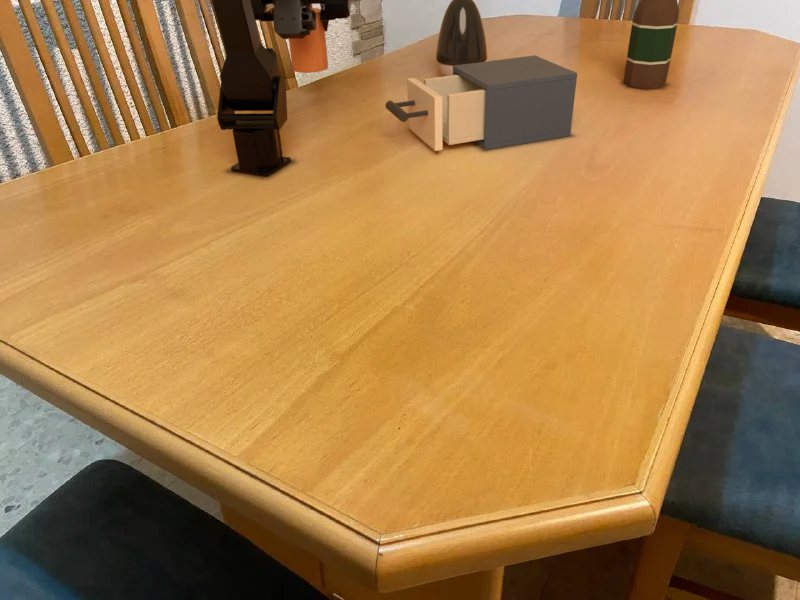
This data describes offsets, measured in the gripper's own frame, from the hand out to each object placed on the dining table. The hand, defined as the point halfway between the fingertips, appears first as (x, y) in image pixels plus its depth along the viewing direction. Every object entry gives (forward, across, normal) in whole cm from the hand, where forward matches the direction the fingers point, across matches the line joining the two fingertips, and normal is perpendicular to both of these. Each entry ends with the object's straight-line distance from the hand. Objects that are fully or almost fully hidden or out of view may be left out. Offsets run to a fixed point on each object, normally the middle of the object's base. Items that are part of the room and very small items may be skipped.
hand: (307, 29), depth 118 cm
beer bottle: (+12, +63, -5) cm, 64 cm away
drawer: (-11, +27, -26) cm, 39 cm away
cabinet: (-7, +37, -24) cm, 44 cm away
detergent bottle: (+4, 0, -6) cm, 7 cm away
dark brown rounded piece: (+16, +28, -1) cm, 32 cm away
